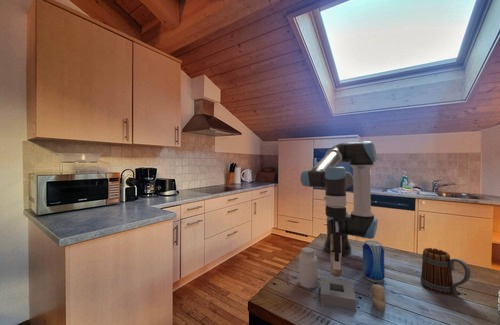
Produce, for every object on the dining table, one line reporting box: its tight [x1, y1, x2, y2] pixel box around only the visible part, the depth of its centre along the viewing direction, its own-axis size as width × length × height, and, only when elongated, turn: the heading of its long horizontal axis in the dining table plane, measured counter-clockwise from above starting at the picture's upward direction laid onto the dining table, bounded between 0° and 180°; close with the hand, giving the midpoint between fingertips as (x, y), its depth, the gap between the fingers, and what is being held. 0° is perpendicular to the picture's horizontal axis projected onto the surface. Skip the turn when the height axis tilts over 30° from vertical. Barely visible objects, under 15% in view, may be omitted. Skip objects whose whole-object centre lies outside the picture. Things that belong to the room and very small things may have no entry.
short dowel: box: [371, 284, 386, 312], centre depth 76 cm, size 4×4×7 cm
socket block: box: [319, 276, 357, 312], centre depth 82 cm, size 12×12×4 cm
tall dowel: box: [330, 234, 343, 278], centre depth 82 cm, size 4×4×15 cm
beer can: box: [362, 239, 385, 283], centre depth 95 cm, size 8×8×16 cm
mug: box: [420, 247, 471, 296], centre depth 85 cm, size 16×11×15 cm
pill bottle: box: [298, 246, 319, 289], centre depth 91 cm, size 8×8×15 cm
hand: (336, 266), depth 81 cm, fingers closed on tall dowel, 4 cm apart
